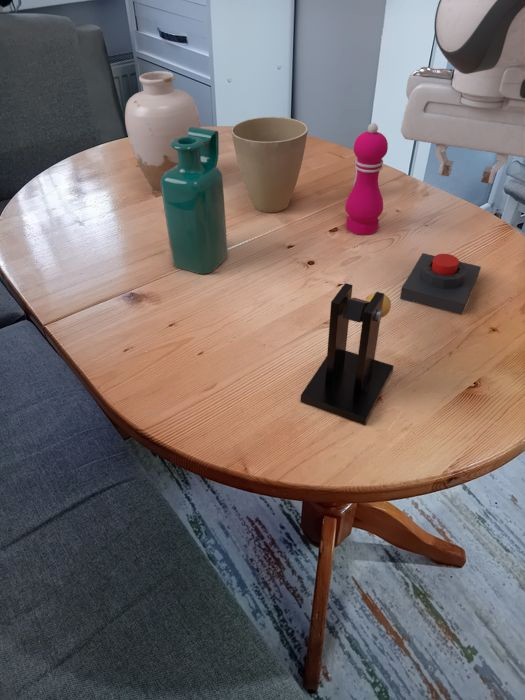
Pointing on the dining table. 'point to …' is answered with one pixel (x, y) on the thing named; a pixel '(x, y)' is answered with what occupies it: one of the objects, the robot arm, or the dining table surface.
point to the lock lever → (363, 308)
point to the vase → (158, 123)
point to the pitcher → (195, 203)
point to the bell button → (445, 264)
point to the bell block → (440, 285)
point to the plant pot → (270, 159)
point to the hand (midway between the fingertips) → (465, 178)
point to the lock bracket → (350, 365)
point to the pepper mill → (366, 183)
